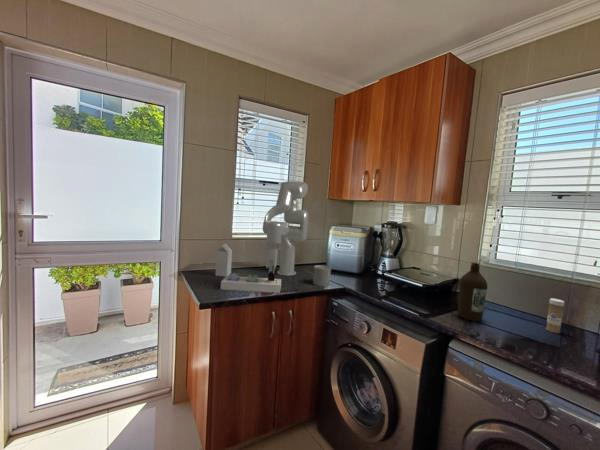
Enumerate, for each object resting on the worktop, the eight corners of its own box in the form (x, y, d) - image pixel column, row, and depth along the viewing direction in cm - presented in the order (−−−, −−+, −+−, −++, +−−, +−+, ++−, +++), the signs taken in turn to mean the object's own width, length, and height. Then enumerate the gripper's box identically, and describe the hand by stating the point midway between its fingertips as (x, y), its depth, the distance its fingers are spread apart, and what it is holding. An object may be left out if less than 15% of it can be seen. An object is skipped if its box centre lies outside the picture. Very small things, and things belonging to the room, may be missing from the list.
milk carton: (230, 274, 174) (232, 243, 172) (226, 277, 167) (228, 245, 165) (219, 273, 174) (221, 242, 173) (215, 275, 167) (216, 244, 166)
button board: (226, 282, 155) (226, 275, 154) (280, 286, 155) (281, 279, 155) (220, 289, 143) (221, 281, 142) (279, 293, 143) (280, 285, 143)
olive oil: (450, 313, 131) (456, 260, 129) (469, 312, 133) (475, 260, 131) (469, 322, 120) (475, 265, 119) (489, 322, 123) (496, 265, 121)
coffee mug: (327, 287, 160) (328, 269, 159) (310, 284, 163) (311, 267, 162) (332, 281, 172) (334, 265, 171) (317, 279, 176) (318, 263, 175)
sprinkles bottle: (545, 331, 117) (549, 299, 116) (545, 327, 120) (549, 297, 119) (560, 334, 114) (565, 302, 113) (560, 331, 117) (564, 300, 116)
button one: (266, 286, 152) (267, 278, 151) (275, 287, 152) (276, 279, 151) (265, 289, 147) (266, 281, 146) (275, 290, 147) (275, 281, 146)
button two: (229, 280, 151) (230, 272, 151) (239, 281, 151) (239, 273, 151) (227, 283, 146) (227, 275, 146) (237, 284, 146) (237, 275, 146)
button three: (248, 282, 151) (248, 273, 151) (257, 282, 151) (258, 274, 151) (246, 284, 146) (247, 276, 146) (256, 285, 146) (256, 276, 146)
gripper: (267, 243, 155) (265, 276, 156) (264, 247, 140) (262, 283, 141) (281, 244, 155) (279, 277, 156) (279, 248, 140) (277, 284, 141)
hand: (271, 280), depth 149 cm, fingers closed
